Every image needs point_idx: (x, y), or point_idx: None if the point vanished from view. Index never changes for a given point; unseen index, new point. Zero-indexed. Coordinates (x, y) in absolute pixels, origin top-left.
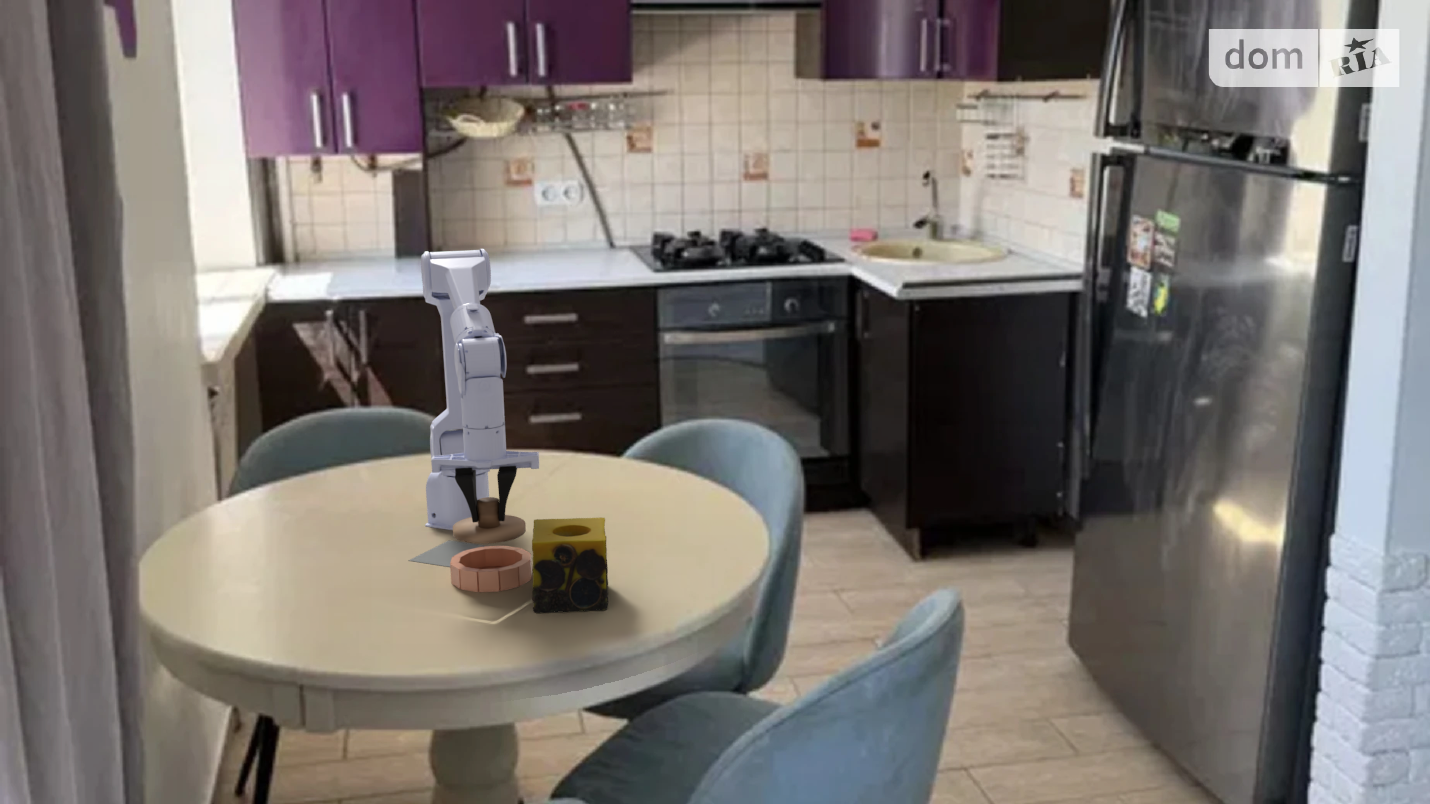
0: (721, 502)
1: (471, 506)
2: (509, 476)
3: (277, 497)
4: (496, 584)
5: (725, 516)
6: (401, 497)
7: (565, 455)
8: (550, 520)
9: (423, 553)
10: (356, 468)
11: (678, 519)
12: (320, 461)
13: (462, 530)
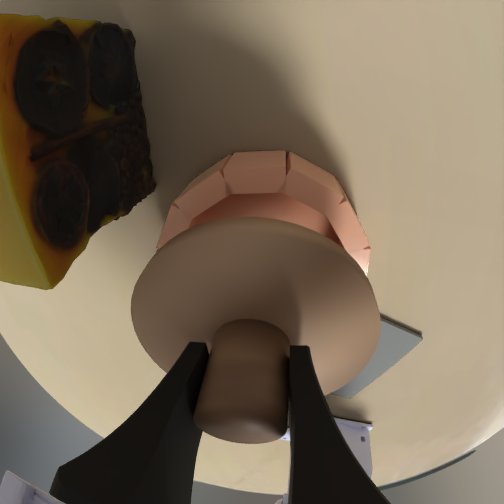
0: (71, 409)
1: (312, 398)
2: (59, 491)
3: (468, 444)
4: (236, 157)
5: (49, 384)
6: (379, 460)
7: (238, 488)
8: (11, 271)
9: (395, 362)
10: (398, 478)
11: (80, 393)
12: (416, 479)
13: (348, 308)
